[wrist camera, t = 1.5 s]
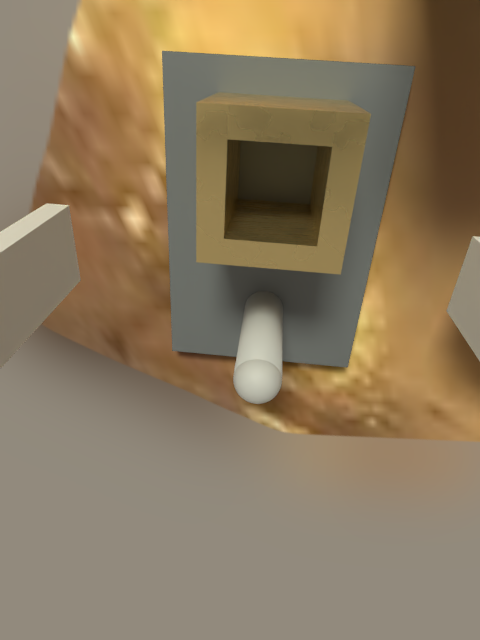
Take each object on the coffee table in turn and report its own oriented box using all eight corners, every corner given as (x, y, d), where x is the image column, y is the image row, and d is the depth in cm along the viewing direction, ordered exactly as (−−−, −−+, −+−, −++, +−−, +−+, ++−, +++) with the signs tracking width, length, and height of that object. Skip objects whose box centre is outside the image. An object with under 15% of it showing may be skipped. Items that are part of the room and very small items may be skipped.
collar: (348, 100, 26) (371, 113, 20) (328, 227, 31) (340, 274, 24) (219, 92, 27) (196, 102, 20) (215, 218, 31) (196, 262, 24)
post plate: (409, 66, 27) (487, 68, 16) (345, 357, 38) (367, 466, 28) (167, 51, 27) (97, 44, 17) (176, 341, 39) (136, 442, 28)
